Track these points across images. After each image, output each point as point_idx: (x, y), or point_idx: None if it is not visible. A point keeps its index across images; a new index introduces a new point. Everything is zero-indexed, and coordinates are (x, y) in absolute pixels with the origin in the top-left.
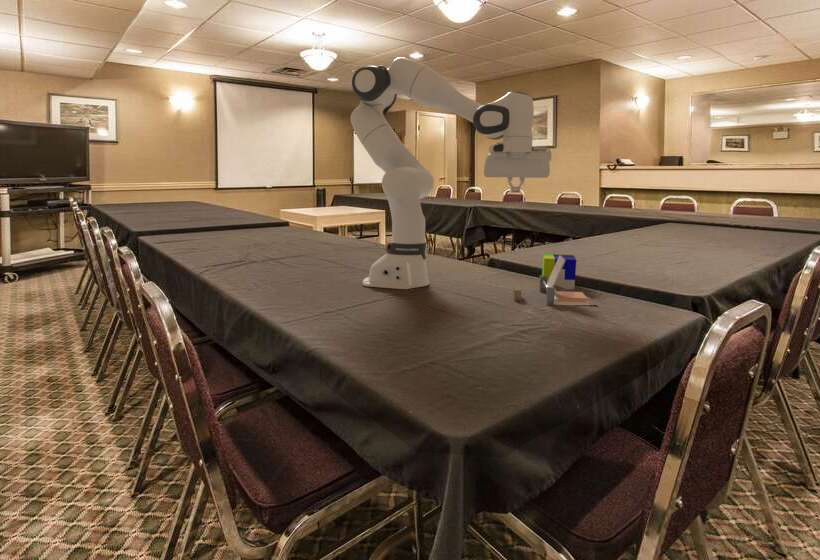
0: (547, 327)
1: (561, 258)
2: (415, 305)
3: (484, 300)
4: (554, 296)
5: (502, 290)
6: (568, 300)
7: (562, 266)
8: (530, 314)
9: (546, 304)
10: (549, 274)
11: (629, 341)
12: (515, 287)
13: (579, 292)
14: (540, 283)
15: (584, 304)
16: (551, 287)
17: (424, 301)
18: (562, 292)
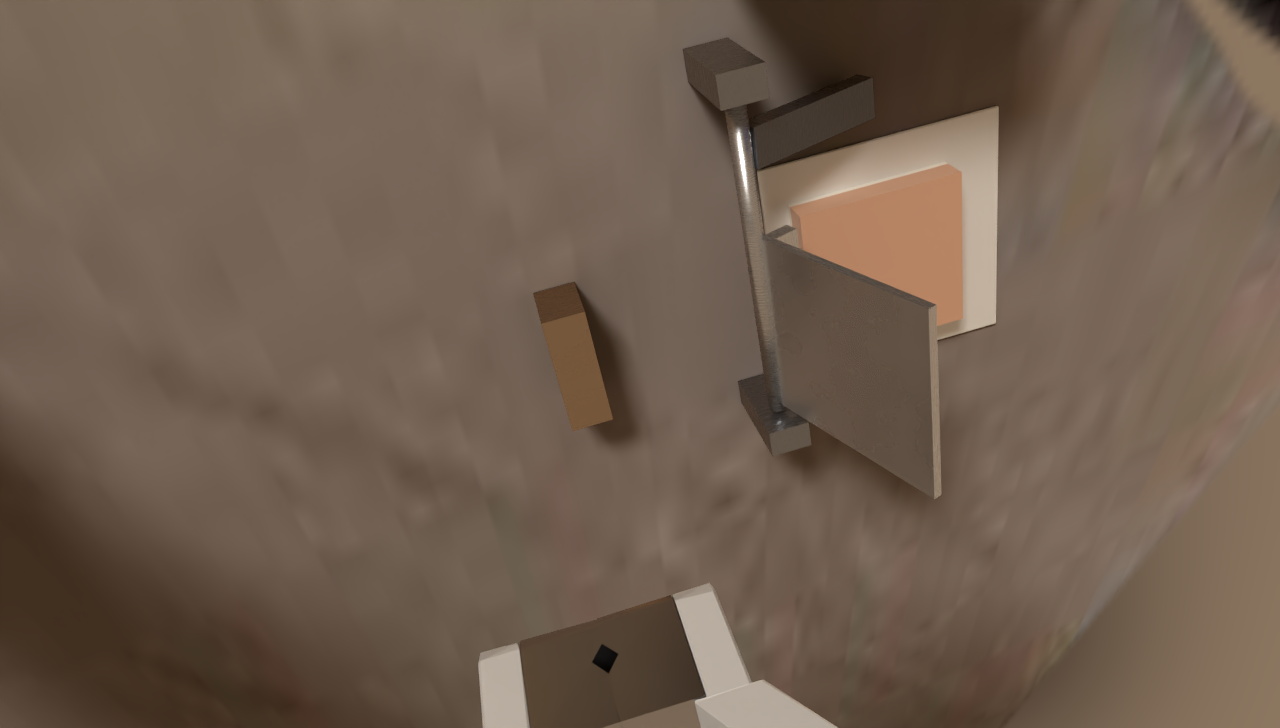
0: None
1: (926, 413)
2: (100, 689)
3: (400, 455)
4: (786, 209)
5: (423, 148)
6: None
7: (904, 475)
8: (676, 581)
9: (741, 397)
10: None
11: (986, 696)
12: (564, 358)
13: (944, 187)
14: (707, 97)
15: None
16: (793, 437)
17: (90, 612)
18: (843, 232)
